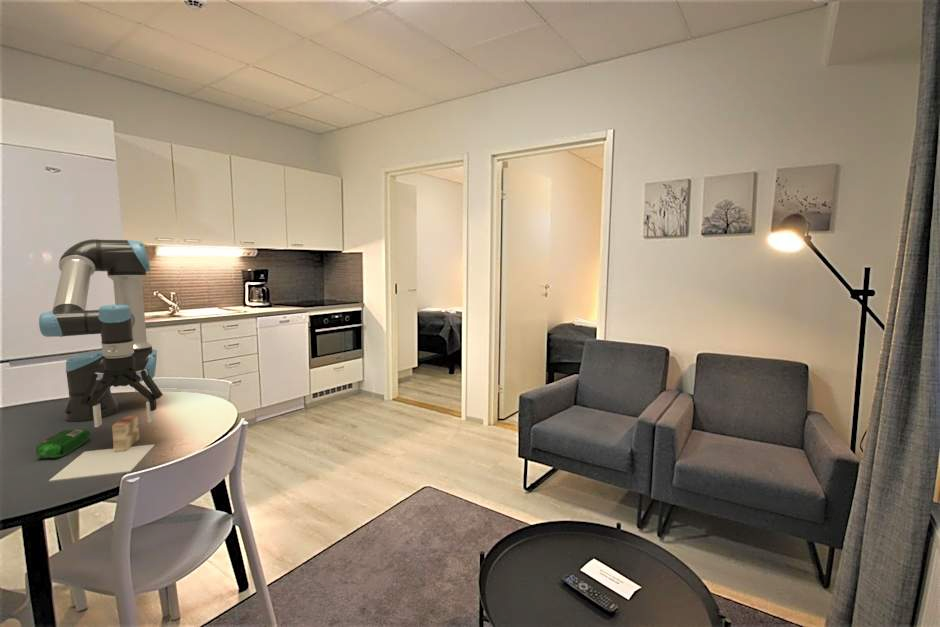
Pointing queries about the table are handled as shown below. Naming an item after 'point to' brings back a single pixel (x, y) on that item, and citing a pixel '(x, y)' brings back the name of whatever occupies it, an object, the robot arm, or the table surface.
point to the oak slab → (125, 433)
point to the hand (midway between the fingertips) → (125, 423)
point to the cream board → (103, 463)
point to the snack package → (62, 443)
